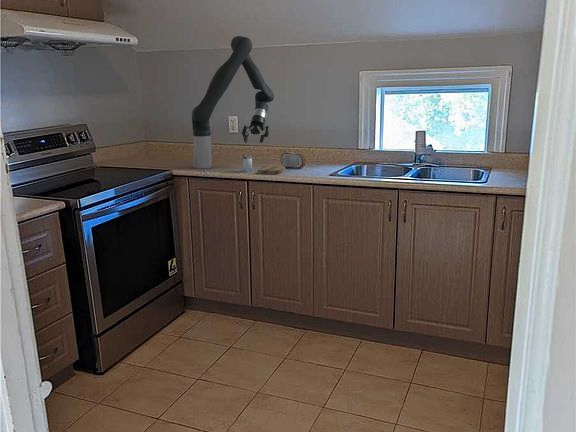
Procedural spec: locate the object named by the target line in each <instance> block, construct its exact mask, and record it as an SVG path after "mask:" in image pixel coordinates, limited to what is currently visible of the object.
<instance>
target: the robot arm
mask: <svg viewBox="0 0 576 432" xmlns="http://www.w3.org/2000/svg"><path fill="white" fill-rule="evenodd" d="M230 47H231V49H232V53H231V55H230V56H229V58H228V59H227V60H226V61H225V62H224V63H223V64H222V65H221V66H219V68H218V69H217V70H216V72H215V73H214V75H213V77H212V78H211V80H210V83H209V85H208V87H207V90H206V93H205V95H204V97H203V98H202V99H201V101H200V103H199V104H198V105H196V106H195V107H194V108H193V109H192V111H191V122H192V123H191V124H192V126H191V127H192V132H193V135H192V136H193V150H192V162H193V163H192V165H193V169H210V168H213V159H212V155H213V154H212V138H211V137H212V135H211V134H212V133H211V127H210V118H211V116H212V115H213V112H214V110H215V108H216V105H217V104H218V102H219V101H220V100H221V98H222V97H223V95H224V94H225V93H226V90H227V89H228V87H229V86H230V84H231V83H232V81H233V79H234V77H235V75H236V73H237V72H238V71H239V68H240V67H241V66H242V67H243V68H244V72H245V73H246V75H247V77H248V79H249V81H250V84H251V86H252V87H253V89H254V90H259V91H257V92H256V93H255V95H254V101H255V107H254V111H253V113H252V117H251V120H250V124H249V126H247V125H244V126H243V128H242V132H241V134H242V137H243V142H244V143H245V144H247V143H248V139H249V137H250V136H252V135H260V138H259V142H260V144H263V142H264V140H265V138H268V137H269V132H270V127H269V125H266V126H265V124H266V120H267V115H268V111H269V106H268V104H267V103H271V102H273V101H274V99H275V95H274V91H273V90H272V89H271V87H269V86H268V84H267V83H266V81H265V80H264V78H263V75H262V73H261V71H260V69H259V67H257V65H256V63H254V60H252V57H251V56H250V53H251V52H252V49H253V41H251V39H250V38H249V37H247V36H242V35H236V36H234V37H233V38H232V39H231V40H230ZM263 131H265V132H263Z"/></svg>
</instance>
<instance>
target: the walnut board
mask: <svg viewBox="0 0 576 432" xmlns="http://www.w3.org/2000/svg"><path fill="white" fill-rule="evenodd" d="M283 171H284V172H285V171H286V167H284V166H283V165H282V166H279V165H278V166H276V165H264V166H262V167H260V168H258V169H257V175H276V174H279V175H280V174H282V173H284V172H283Z"/></svg>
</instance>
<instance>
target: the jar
mask: <svg viewBox="0 0 576 432" xmlns="http://www.w3.org/2000/svg"><path fill="white" fill-rule="evenodd" d="M242 172H243V173H251V172H252V173H253V156H252V155H247V154H246V155H243V156H242Z"/></svg>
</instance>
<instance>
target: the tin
mask: <svg viewBox="0 0 576 432" xmlns="http://www.w3.org/2000/svg"><path fill="white" fill-rule="evenodd" d="M280 163H281V165H282V166H283V167H285V168H288V167H290V168H289V169H291V168H292V169H303V168H304V167H305V165H306V157H305V155H304V154H303V153H301V152H295V151H293V152H292V151H285V152H283V153H282V154H281V155H280Z"/></svg>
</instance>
